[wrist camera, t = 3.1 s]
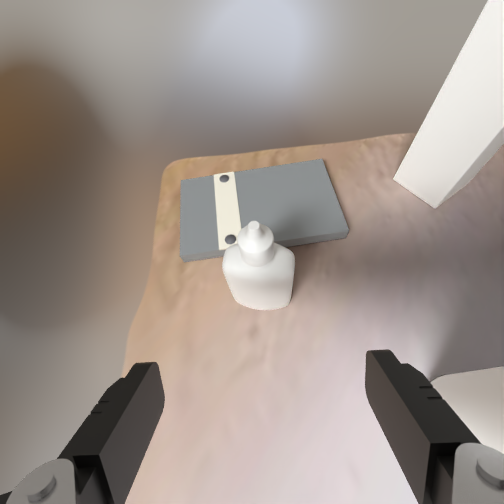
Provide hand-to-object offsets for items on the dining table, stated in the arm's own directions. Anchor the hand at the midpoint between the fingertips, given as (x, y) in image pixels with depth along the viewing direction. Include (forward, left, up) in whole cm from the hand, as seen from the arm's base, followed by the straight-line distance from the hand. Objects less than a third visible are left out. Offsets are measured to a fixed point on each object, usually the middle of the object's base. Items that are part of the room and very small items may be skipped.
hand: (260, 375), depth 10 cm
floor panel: (-2, -19, -14) cm, 24 cm away
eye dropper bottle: (-1, -8, -14) cm, 17 cm away
